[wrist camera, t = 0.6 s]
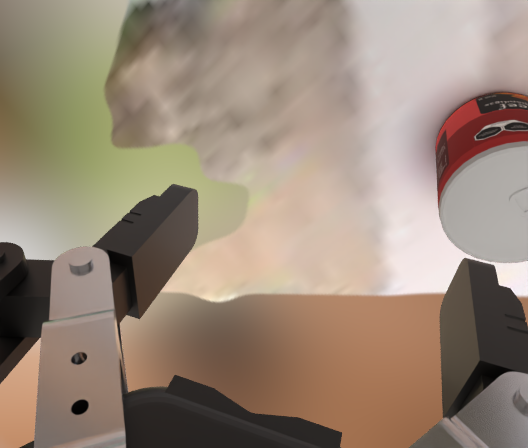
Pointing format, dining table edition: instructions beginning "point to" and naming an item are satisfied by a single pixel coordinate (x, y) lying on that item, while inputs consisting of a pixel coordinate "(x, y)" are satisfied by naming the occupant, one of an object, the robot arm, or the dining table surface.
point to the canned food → (485, 177)
